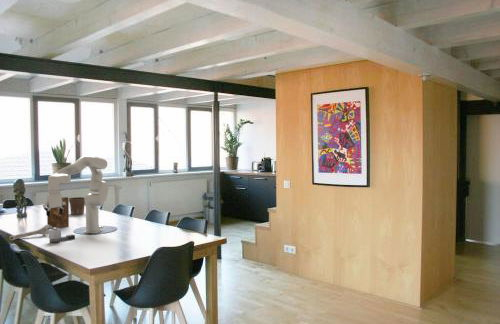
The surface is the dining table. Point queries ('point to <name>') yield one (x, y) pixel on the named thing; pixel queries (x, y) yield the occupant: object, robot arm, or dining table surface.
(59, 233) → the cube with metal dome
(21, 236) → the wrench
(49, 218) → the book
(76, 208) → the plant pot
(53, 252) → the dining table surface
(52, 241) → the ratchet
